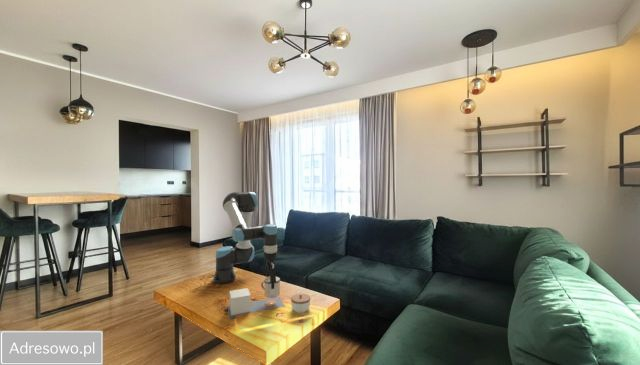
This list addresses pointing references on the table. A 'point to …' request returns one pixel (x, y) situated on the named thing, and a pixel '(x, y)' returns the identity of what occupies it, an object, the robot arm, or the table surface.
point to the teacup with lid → (267, 287)
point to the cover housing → (240, 301)
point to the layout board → (261, 306)
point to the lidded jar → (300, 302)
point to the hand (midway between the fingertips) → (270, 290)
